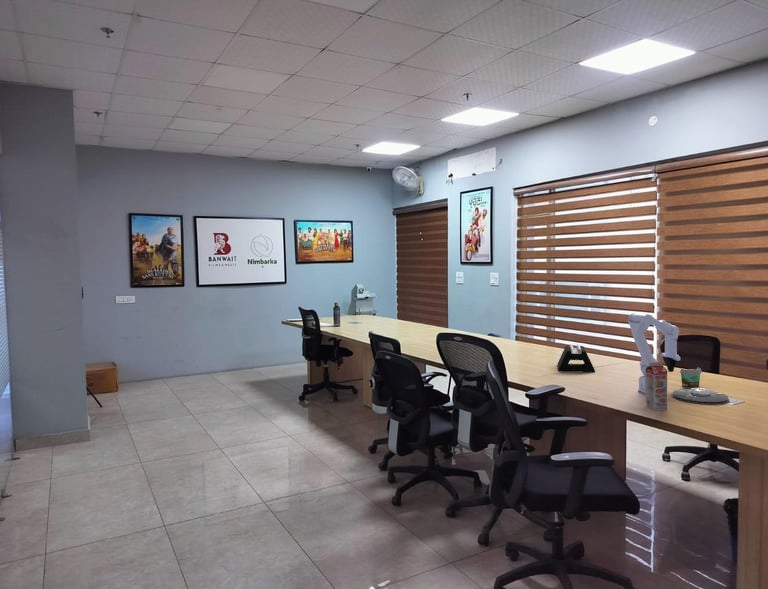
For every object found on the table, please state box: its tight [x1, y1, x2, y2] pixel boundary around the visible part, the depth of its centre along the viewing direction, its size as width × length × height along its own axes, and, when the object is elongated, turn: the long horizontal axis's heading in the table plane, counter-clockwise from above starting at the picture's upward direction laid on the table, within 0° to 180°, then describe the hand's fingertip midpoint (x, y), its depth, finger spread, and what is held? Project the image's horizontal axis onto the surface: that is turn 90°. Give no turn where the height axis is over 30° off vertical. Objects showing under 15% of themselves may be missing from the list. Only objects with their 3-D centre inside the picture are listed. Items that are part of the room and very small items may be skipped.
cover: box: [689, 387, 712, 397], centre depth 267 cm, size 9×9×3 cm
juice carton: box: [645, 361, 668, 411], centre depth 250 cm, size 7×7×22 cm
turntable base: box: [671, 393, 730, 406], centre depth 267 cm, size 25×25×1 cm
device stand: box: [557, 343, 596, 373], centre depth 351 cm, size 22×22×15 cm
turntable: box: [672, 388, 729, 403], centre depth 267 cm, size 24×24×1 cm
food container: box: [679, 367, 703, 389], centre depth 291 cm, size 12×6×10 cm, turn 105°
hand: (670, 371), depth 289 cm, fingers closed
